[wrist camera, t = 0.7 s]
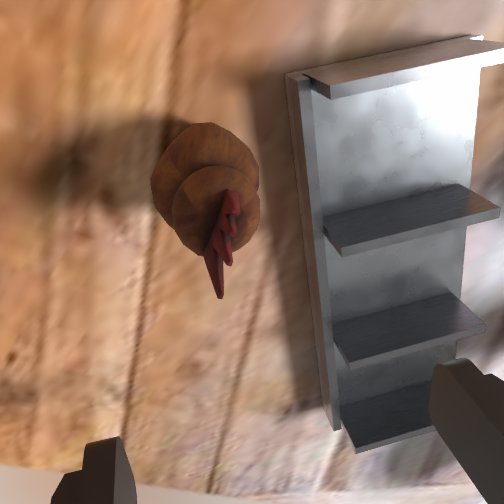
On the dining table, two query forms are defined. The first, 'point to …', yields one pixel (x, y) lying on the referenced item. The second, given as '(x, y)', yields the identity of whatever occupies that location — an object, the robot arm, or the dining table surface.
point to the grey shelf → (388, 225)
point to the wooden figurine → (209, 194)
